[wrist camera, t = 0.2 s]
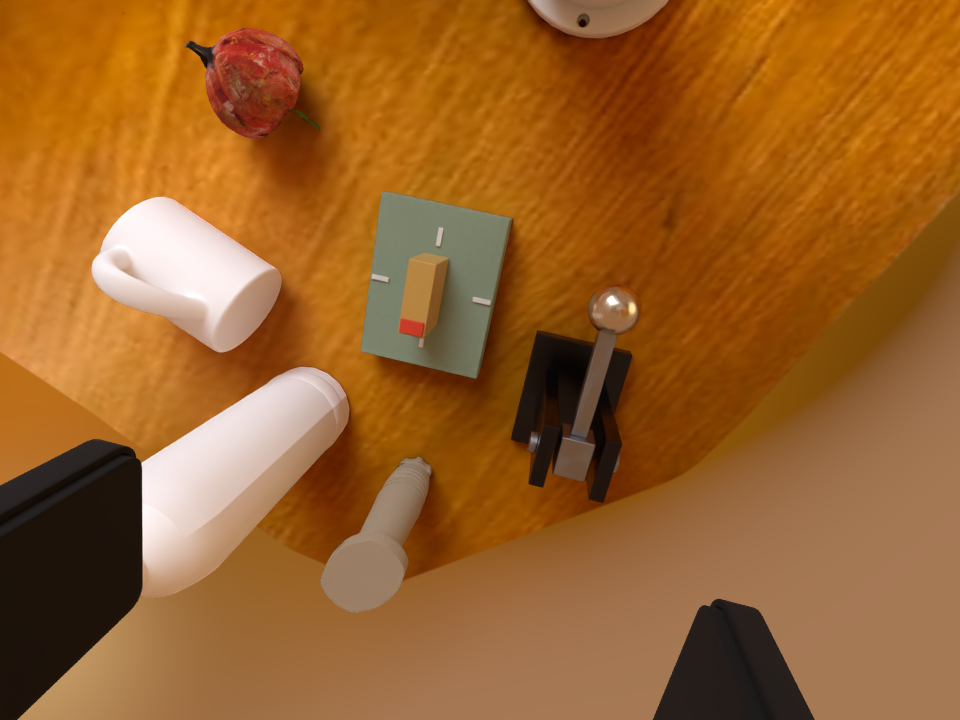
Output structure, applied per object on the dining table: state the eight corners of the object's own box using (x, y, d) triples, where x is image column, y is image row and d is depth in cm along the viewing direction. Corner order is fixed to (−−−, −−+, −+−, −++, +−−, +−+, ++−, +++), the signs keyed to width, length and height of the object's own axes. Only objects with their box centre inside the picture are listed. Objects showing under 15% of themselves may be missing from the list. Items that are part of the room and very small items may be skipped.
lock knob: (424, 252, 41) (407, 258, 36) (449, 257, 40) (436, 264, 36) (413, 319, 42) (396, 333, 38) (436, 325, 42) (422, 340, 38)
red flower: (345, 78, 43) (226, -28, 36) (351, 117, 38) (216, 4, 31) (291, 144, 46) (173, 57, 39) (291, 188, 41) (156, 98, 34)
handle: (376, 472, 50) (306, 578, 36) (421, 432, 49) (366, 528, 34) (411, 506, 51) (357, 623, 37) (457, 467, 49) (418, 576, 35)
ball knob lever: (593, 274, 33) (597, 281, 30) (643, 285, 33) (652, 294, 30) (545, 453, 37) (544, 475, 34) (589, 464, 37) (592, 487, 34)
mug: (257, 339, 48) (164, 382, 37) (160, 275, 48) (36, 298, 36) (296, 264, 45) (209, 285, 34) (194, 195, 45) (72, 194, 34)
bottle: (255, 386, 50) (-148, 636, 21) (320, 350, 48) (-28, 573, 19) (301, 455, 51) (-17, 775, 23) (366, 423, 49) (107, 730, 21)
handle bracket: (537, 329, 44) (530, 378, 32) (630, 351, 44) (659, 409, 32) (511, 434, 47) (497, 514, 35) (598, 455, 47) (614, 544, 35)
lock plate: (393, 192, 43) (381, 191, 40) (512, 218, 42) (509, 219, 39) (372, 342, 47) (359, 352, 44) (480, 368, 46) (475, 379, 43)
